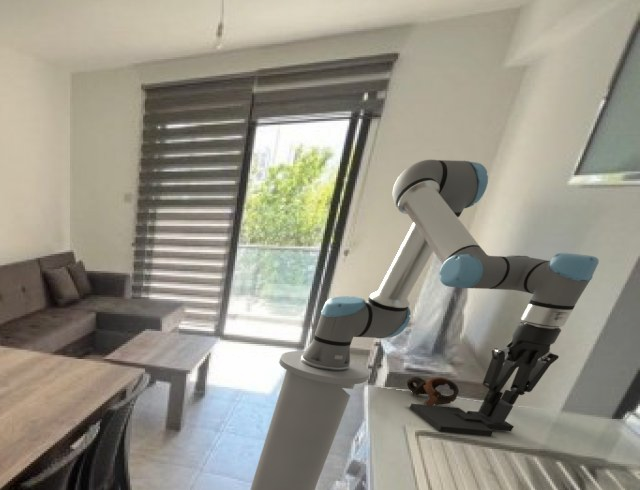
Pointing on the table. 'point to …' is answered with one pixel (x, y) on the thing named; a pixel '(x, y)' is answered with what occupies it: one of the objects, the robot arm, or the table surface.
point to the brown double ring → (433, 389)
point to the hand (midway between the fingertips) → (491, 414)
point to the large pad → (449, 420)
